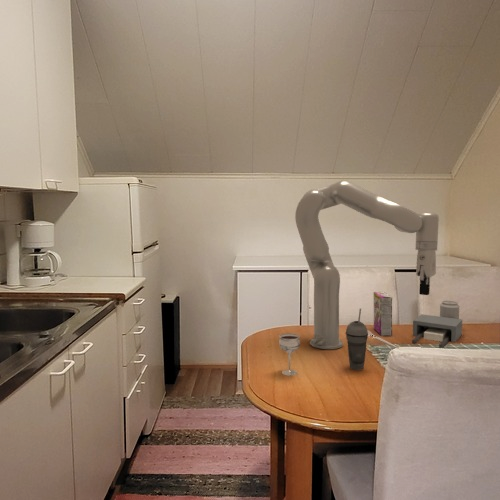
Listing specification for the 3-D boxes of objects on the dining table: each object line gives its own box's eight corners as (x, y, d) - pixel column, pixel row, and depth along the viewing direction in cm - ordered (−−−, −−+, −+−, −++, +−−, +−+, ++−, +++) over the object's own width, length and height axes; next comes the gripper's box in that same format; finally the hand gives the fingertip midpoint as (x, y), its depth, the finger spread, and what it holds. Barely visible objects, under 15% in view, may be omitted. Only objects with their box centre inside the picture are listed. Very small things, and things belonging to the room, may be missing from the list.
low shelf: (449, 349, 154) (450, 332, 153) (405, 341, 164) (405, 326, 163) (461, 334, 172) (462, 319, 171) (421, 328, 181) (421, 314, 181)
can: (440, 330, 177) (441, 303, 176) (438, 326, 184) (438, 299, 183) (460, 332, 175) (461, 304, 174) (457, 327, 182) (457, 300, 181)
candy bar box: (372, 328, 183) (373, 291, 181) (384, 328, 183) (384, 291, 181) (380, 336, 172) (380, 296, 170) (392, 336, 171) (392, 296, 170)
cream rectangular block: (442, 342, 163) (442, 335, 163) (423, 339, 167) (423, 332, 167) (448, 336, 171) (448, 329, 170) (430, 333, 175) (430, 326, 175)
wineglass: (274, 372, 135) (274, 336, 134) (288, 367, 140) (288, 331, 139) (291, 378, 130) (290, 340, 129) (304, 372, 135) (304, 336, 134)
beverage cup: (351, 362, 143) (351, 304, 141) (371, 366, 138) (372, 307, 137) (341, 368, 137) (341, 308, 136) (362, 373, 133) (362, 311, 131)
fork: (396, 351, 156) (396, 346, 155) (363, 335, 174) (363, 331, 174) (403, 349, 157) (403, 345, 156) (369, 334, 175) (369, 330, 175)
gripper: (432, 248, 148) (429, 299, 149) (441, 245, 160) (439, 292, 161) (410, 246, 152) (408, 296, 154) (421, 244, 164) (419, 290, 166)
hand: (424, 294), depth 158 cm, fingers closed
